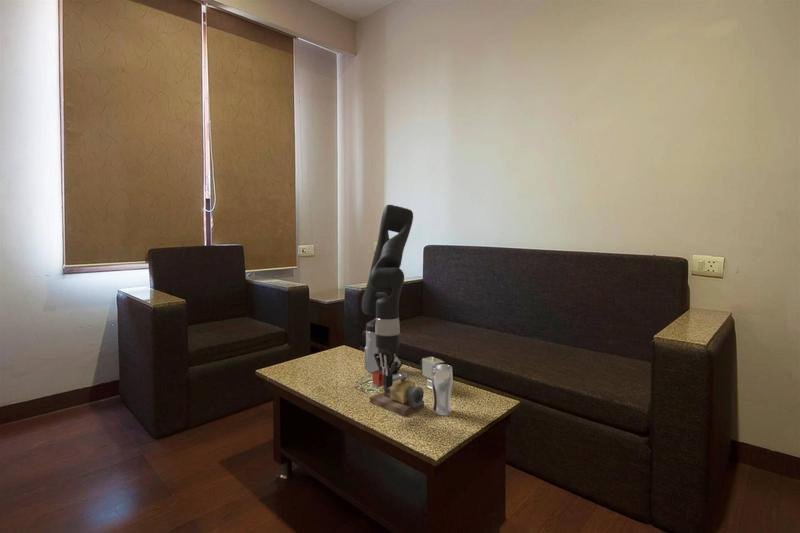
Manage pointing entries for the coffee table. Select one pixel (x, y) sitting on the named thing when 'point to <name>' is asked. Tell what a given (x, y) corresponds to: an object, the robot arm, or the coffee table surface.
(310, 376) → the coffee table surface
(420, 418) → the coffee table surface
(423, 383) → the coffee table surface
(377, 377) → the valve lever
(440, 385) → the beer glass
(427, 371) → the pneumatic valve
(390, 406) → the valve pipe
